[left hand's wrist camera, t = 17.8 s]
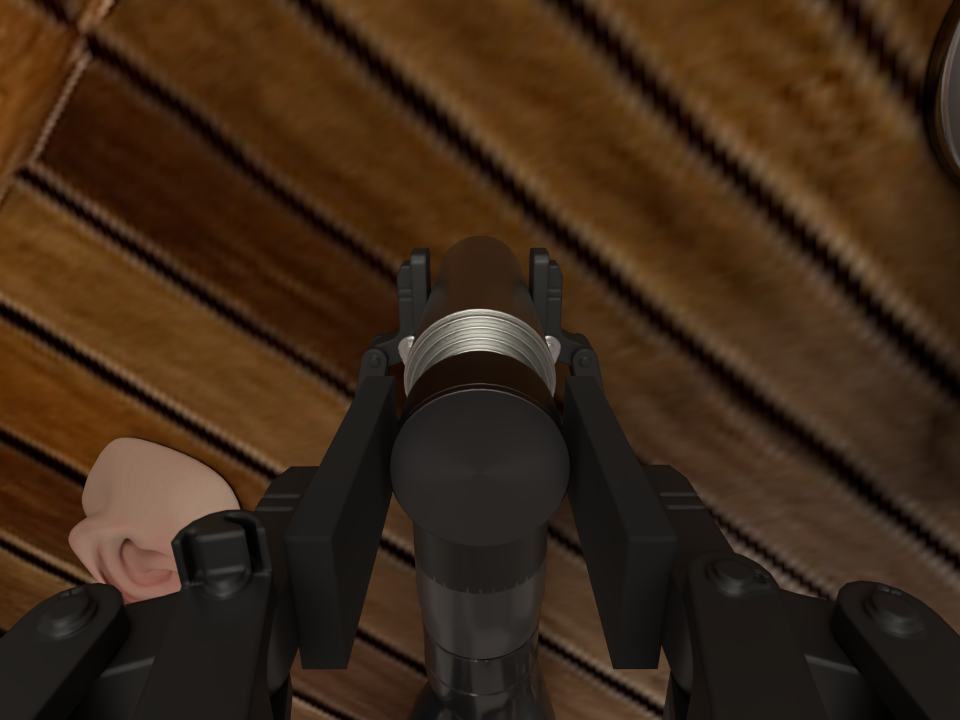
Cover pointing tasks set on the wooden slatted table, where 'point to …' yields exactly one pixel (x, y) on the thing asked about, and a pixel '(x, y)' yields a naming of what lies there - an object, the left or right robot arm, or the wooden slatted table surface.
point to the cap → (479, 451)
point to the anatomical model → (143, 514)
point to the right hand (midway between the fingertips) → (479, 252)
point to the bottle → (479, 312)
